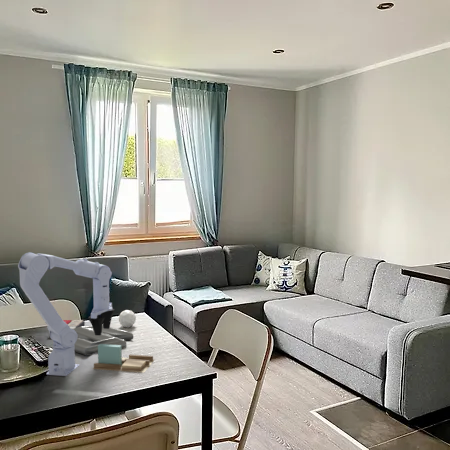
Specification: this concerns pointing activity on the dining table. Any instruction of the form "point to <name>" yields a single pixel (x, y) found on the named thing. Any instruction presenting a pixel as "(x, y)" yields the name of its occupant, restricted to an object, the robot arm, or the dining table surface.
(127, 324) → the geometric ball
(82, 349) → the emblem
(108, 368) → the rack
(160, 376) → the dining table surface
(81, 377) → the dining table surface
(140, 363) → the oak offcut
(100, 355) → the teal panel
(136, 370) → the tan flat block
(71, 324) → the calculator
